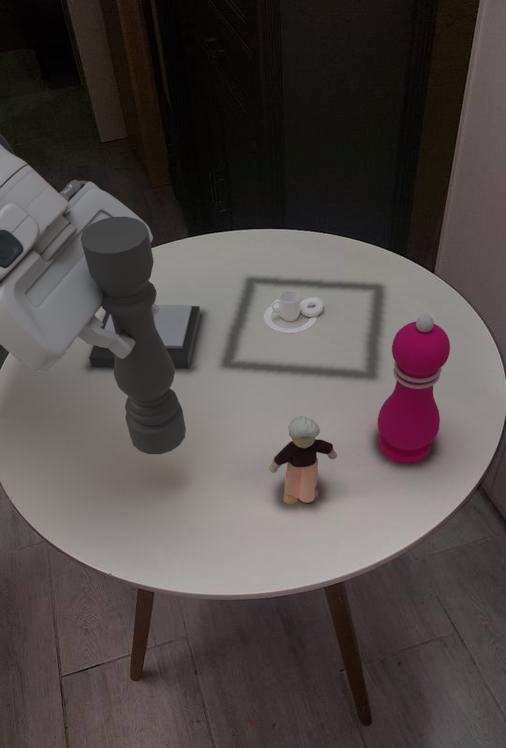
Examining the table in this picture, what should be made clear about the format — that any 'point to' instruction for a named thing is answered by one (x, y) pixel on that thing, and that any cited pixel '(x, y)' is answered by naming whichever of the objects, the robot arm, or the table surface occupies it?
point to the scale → (161, 335)
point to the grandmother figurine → (302, 460)
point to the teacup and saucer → (294, 310)
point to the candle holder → (136, 331)
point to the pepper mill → (413, 392)
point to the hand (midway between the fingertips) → (141, 334)
